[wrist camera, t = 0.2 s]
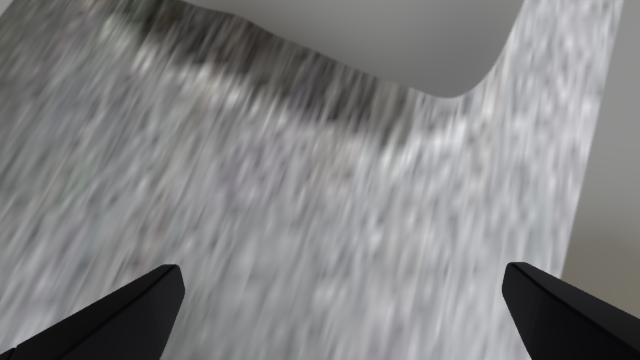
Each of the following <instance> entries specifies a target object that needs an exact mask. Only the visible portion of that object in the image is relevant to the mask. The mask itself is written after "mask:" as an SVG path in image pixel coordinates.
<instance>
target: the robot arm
mask: <svg viewBox="0 0 640 360" xmlns="http://www.w3.org/2000/svg"><path fill="white" fill-rule="evenodd" d="M502 294H503V297H504V300H505V302H506V304H507V307H508V309H509V311H510V313H511V316H512V318H513V320H514V323H515V325H516V327H517V329H518V332H519V334H520V336H521V339H522V341H523V343H524V345H525V347H526V349H527V352H528V353H529V355H530V357H531V359H532V360H640V319H639V318H637V317H635V316H633V315H631V314H628V313H627V312H625V311H623V310H620V309H618V308H616V307H614V306H612V305H610V304H608V303H606V302H604V301H602V300H600V299H598V298H596V297H594V296H592V295H590V294H588V293H586V292H584V291H582V290H580V289H578V288H576V287H574V286H572V285H570V284H568V283H566V282H564V281H562V280H560V279H558V278H556V277H554V276H552V275H550V274H548V273H546V272H544V271H542V270H540V269H538V268H536V267H534V266H532V265H530V264H528V263H526V262H510V263H508V264H507V266H506V269H505V274H504V279H503V283H502ZM184 295H185V286H184V282H183V278H182V274H181V270H180V267H179V266H178V265H176V264H164V265H161V266H159V267H158V268H156V269H154V270H152V271H150V272H149V273H147V274H145V275H143V276H141V277H140V278H138V279H136V280H134V281H132V282H131V283H129V284H127V285H125V286H123V287H121V288H120V289H118V290H116V291H114V292H112V293H111V294H109V295H107V296H105V297H103V298H102V299H100V300H98V301H96V302H94V303H93V304H91V305H89V306H87V307H85V308H84V309H82V310H80V311H78V312H76V313H75V314H73V315H71V316H69V317H67V318H66V319H64V320H62V321H60V322H58V323H57V324H55V325H53V326H51V327H49V328H48V329H46V330H44V331H42V332H40V333H39V334H37V335H35V336H33V337H31V338H30V339H28V340H26V341H24V342H22V343H21V344H19V345H17V347H16V348H11V349H9V350H8V351H6V352H4V353H2V354H1V355H0V360H159V359H160V357H161V355H162V353H163V351H164V348H165V346H166V343H167V341H168V338H169V336H170V333H171V330H172V328H173V325H174V322H175V320H176V317H177V314H178V312H179V309H180V306H181V304H182V301H183V298H184Z"/></svg>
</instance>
